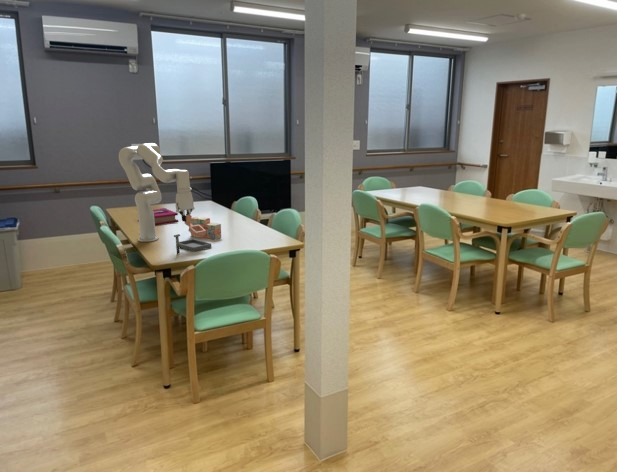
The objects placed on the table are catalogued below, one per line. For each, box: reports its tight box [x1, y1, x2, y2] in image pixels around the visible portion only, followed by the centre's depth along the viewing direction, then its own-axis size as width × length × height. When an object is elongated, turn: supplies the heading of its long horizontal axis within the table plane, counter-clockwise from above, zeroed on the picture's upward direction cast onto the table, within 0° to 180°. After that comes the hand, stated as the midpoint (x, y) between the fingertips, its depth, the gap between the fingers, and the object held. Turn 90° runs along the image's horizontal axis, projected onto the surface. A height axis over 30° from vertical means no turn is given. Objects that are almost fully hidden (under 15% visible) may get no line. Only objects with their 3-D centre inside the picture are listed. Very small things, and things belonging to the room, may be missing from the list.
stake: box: [173, 234, 181, 254], centre depth 268 cm, size 2×3×11 cm, turn 138°
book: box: [153, 207, 180, 226], centre depth 358 cm, size 21×28×8 cm
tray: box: [179, 238, 212, 252], centre depth 283 cm, size 18×13×2 cm
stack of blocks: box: [190, 216, 222, 240], centre depth 307 cm, size 21×6×12 cm, turn 60°
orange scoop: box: [184, 214, 206, 238], centre depth 279 cm, size 15×7×6 cm, turn 49°
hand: (186, 220), depth 283 cm, fingers closed on orange scoop
